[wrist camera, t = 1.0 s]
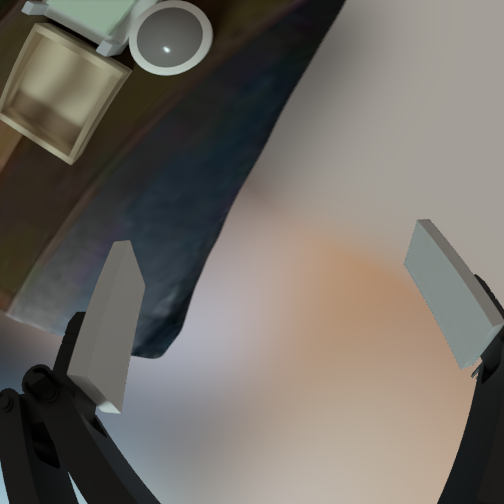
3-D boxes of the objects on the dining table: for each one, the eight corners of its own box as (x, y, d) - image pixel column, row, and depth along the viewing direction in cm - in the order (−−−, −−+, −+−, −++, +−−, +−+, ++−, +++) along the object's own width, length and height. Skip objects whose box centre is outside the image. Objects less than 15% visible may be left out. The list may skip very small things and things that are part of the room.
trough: (9, 108, 25) (-6, 115, 22) (49, 22, 20) (35, 23, 17) (81, 154, 30) (71, 165, 28) (132, 70, 25) (123, 73, 23)
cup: (129, 48, 24) (113, 50, 20) (173, -5, 21) (163, -14, 17) (183, 83, 27) (175, 90, 23) (228, 31, 24) (229, 28, 20)
